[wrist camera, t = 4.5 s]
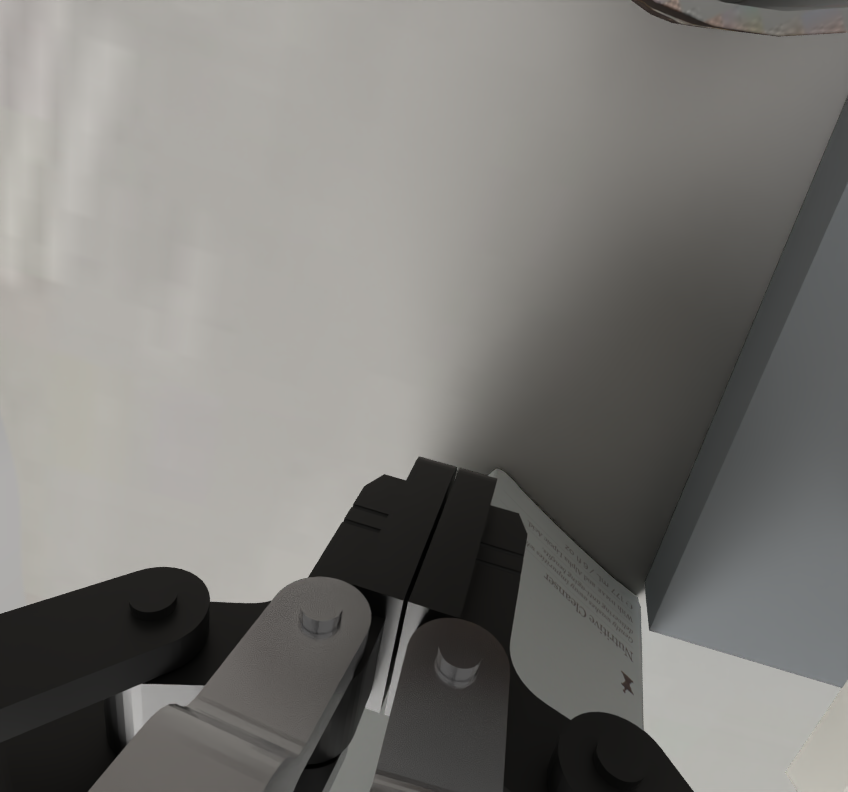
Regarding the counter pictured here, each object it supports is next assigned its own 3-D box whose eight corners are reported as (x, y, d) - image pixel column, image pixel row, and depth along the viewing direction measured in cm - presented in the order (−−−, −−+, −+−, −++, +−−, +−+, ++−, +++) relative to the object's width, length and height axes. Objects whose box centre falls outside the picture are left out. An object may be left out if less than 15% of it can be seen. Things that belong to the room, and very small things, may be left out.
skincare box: (642, 596, 25) (696, 1152, 11) (532, 660, 27) (474, 1168, 14) (489, 454, 24) (356, 883, 11) (391, 536, 26) (190, 956, 13)
